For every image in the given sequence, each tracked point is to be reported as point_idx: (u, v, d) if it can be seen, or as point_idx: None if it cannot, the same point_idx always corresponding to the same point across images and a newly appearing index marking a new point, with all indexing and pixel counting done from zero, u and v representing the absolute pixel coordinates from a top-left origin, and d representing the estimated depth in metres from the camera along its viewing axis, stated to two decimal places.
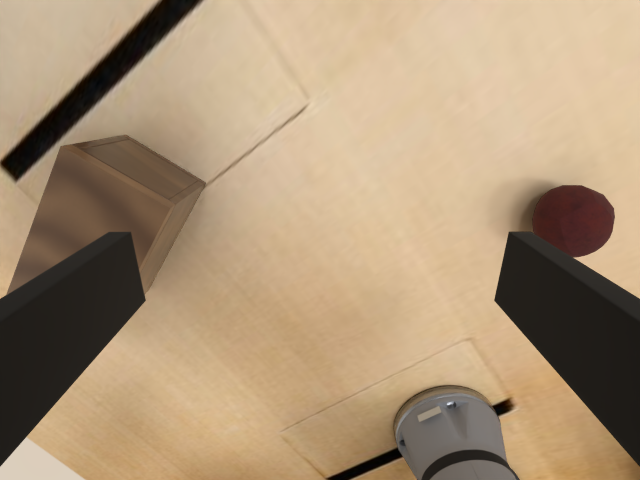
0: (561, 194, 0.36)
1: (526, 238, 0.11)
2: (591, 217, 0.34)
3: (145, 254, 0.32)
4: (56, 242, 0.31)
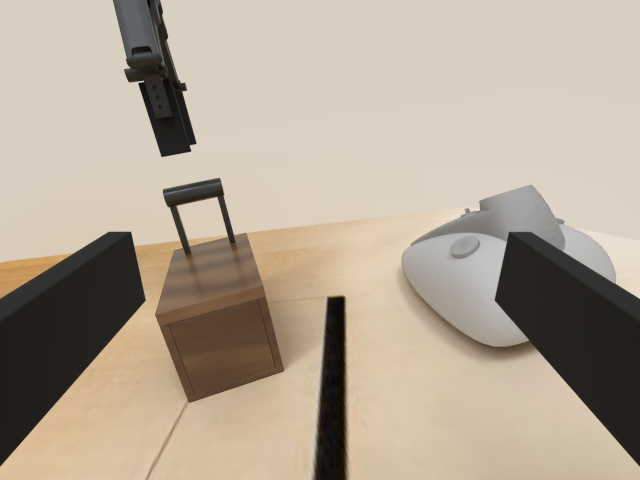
0: None
1: (526, 238, 0.11)
2: None
3: (163, 288, 0.35)
4: (232, 258, 0.40)
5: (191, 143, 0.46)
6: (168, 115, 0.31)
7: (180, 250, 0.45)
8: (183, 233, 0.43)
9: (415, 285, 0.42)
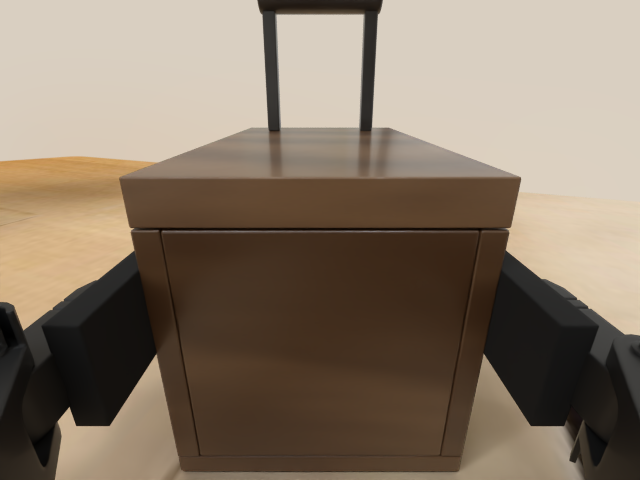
0: None
1: None
2: None
3: (195, 149, 0.13)
4: (372, 140, 0.16)
5: None
6: None
7: (261, 128, 0.23)
8: (275, 82, 0.20)
9: None
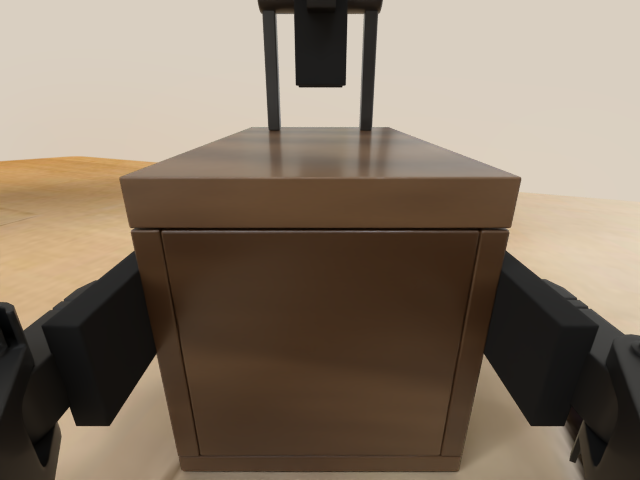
0: None
1: None
2: None
3: (195, 149, 0.13)
4: (372, 140, 0.16)
5: None
6: (329, 5, 0.17)
7: (261, 128, 0.23)
8: (275, 81, 0.20)
9: None
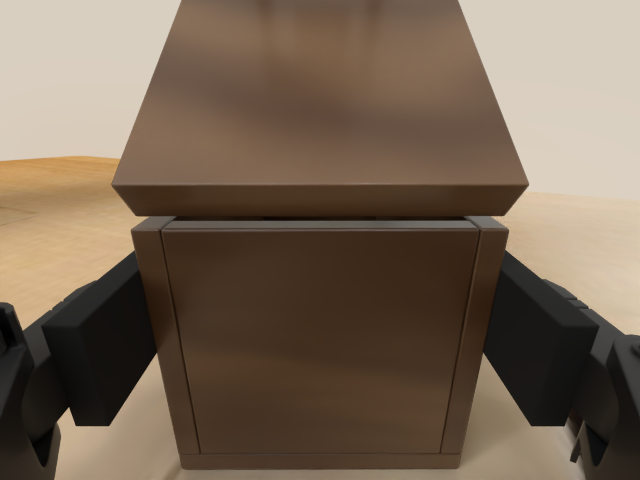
0: None
1: None
2: None
3: (165, 49, 0.11)
4: None
5: None
6: None
7: None
8: None
9: None
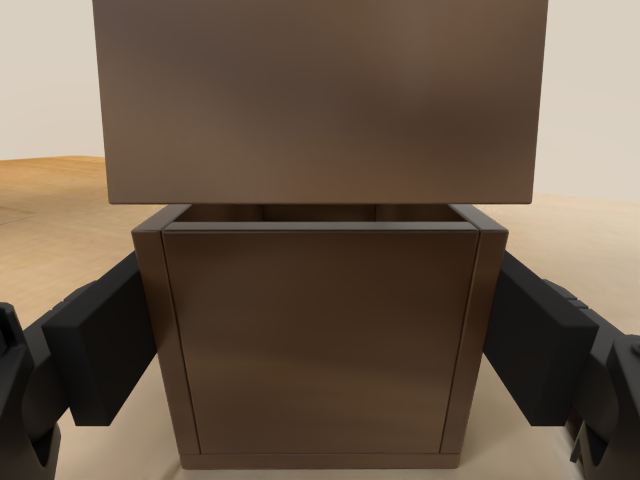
0: None
1: None
2: None
3: None
4: None
5: None
6: None
7: None
8: None
9: None
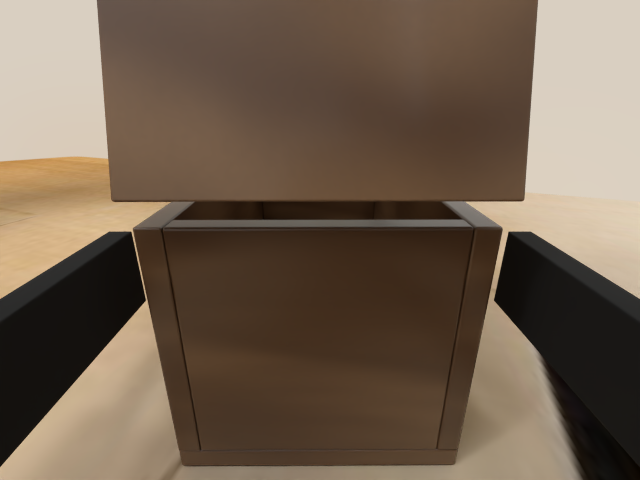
0: None
1: (526, 238, 0.11)
2: None
3: None
4: None
5: None
6: None
7: None
8: None
9: None
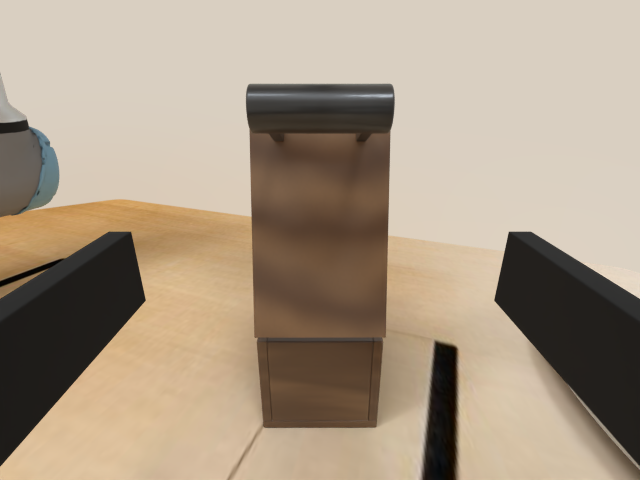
0: None
1: (526, 238, 0.11)
2: None
3: (254, 266, 0.25)
4: (354, 221, 0.24)
5: None
6: None
7: None
8: (277, 133, 0.21)
9: None
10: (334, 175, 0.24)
